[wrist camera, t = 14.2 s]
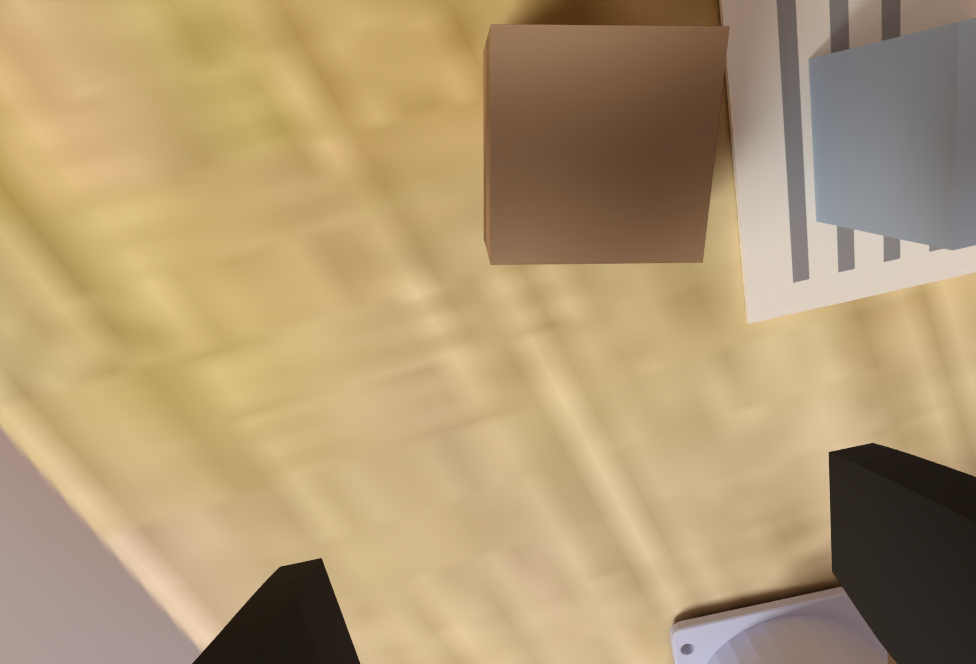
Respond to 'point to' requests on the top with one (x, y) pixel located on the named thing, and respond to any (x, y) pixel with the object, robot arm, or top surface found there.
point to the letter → (811, 155)
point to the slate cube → (899, 136)
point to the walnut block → (600, 142)
